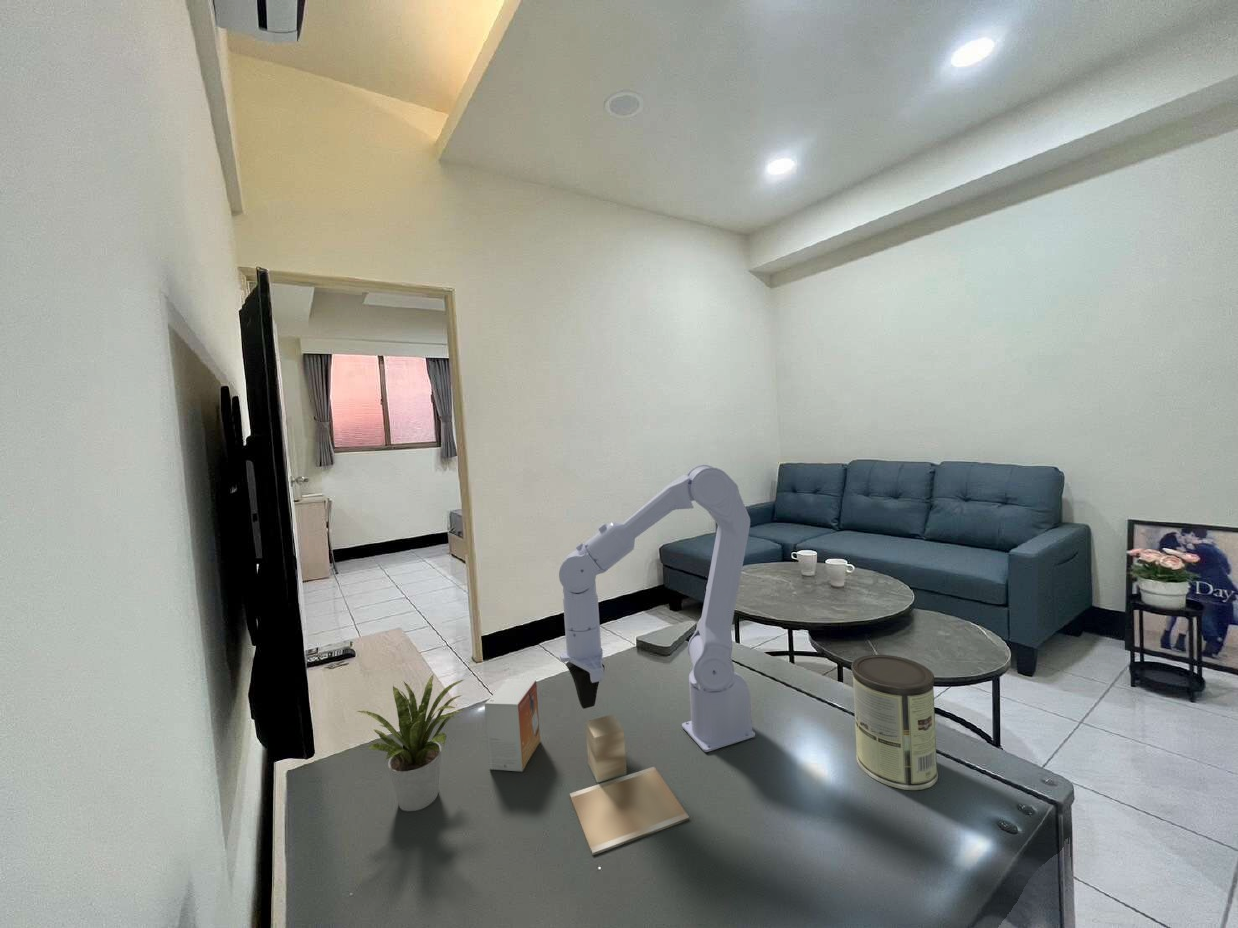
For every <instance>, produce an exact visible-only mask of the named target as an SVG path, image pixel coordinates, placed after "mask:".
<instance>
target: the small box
mask: <svg viewBox="0 0 1238 928" xmlns="http://www.w3.org/2000/svg"><path fill="white" fill-rule="evenodd" d="M537 687H538V686H537V680H535V679H517V678H516V679H515V678H513V679H512V678H507V679H505V680H504V681H503V682H502V684H501V685H500V686H499V687H498V689H496V691H495V692H494V693H493V694H492V695H491V696H490V697H489V699H487V701H485V702H484V713H485V717H484V718H485V727H486V740H487V755H488V767H489V770H495V771H509V772H511V771H512V772H523V771H524V769H525V768H526V766H527V764H528V763H529V761H530V759H531V758H532V756H533V754H534V752H535V751H536V749H537V747H538V746H539V744H540V743H541V734H540V733H541V731H540V718H539V705H538V704H539V703H538V702H539V699H538V688H537Z"/></svg>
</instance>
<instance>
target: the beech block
mask: <svg viewBox="0 0 1238 928" xmlns="http://www.w3.org/2000/svg"><path fill="white" fill-rule="evenodd" d="M585 733H586V734H585V735H586V748H587V750H586V751H587V761H588V764H587V765H588V768H589V771H590V773H591V775H592V777H593V778H594V781H595V783H596V785H598V784H601V783H604V782H607V781H610V780H614V779H617V778H620V777H623V776H626V775H628V774H627V757H626V743H625V742H626V741H625V730H624V728H623V726H622V724H621V723H620V722H619V720H618V718H617V717H616V716H615V714H609V715H606V716H602V717H598V718H594V719H591V720H588V721H585Z"/></svg>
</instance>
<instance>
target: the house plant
mask: <svg viewBox="0 0 1238 928" xmlns="http://www.w3.org/2000/svg"><path fill="white" fill-rule="evenodd" d="M433 680H434V674H432V675H431V676H430V677H429V679H428V681H427V682H426V685H425V688H424V692H423V696H422V698H421V702H420V705H418V704H417V699H416V696H415V692H414V691H413V690H412V688H411V687H410V685H409V684H408V683H406V682H405V681H403V683H404V686H405V689H406V691H407V693H408V696H409V697H408V696H406V694H405V693H404V692H403V691H402V690H400V689H398V688H397V687H395V686H394V684H393V686H392V693H393V699H394V703H395V706H396V713H397V718H398V728H399V732H398V731H397V730H396V729H395V727H394V726H393V725H392V724H391V723H390V722H389V721H388V720H387V719H385V718H384V717H383V716H381V715H379V714H377V713H375V712H371V711H368V710H367V711H366V710H356V712H357V713H361V714H365V715H367V716H370V717H372V718H374V719H375V721H377V722H379V723H380V724H379V726H380V727H382V728H386V729H387V730H388V731H389V732H390V734H392V735H393V736H394V737H395V738H396V740H398V741H399V742H400V744H399V743H398V742H397V741H395V740H394V739H393V738H392V737H390V736H388V735H387V734H385V733H384V732H382V731H380V730H377V729H373V730H374V732H375V733H376V734H377V735H378V736H379V738H380V739H381V740H382V741H383V742H378V743H374V744H372V745H370V746H368V748H366V750H368V749H369V750H374V751H380V752H386V753H387V754H386V759H385V760H384V762H387V760H388V763H387V766H388V769H389V770H388V771H389V773H390V777H391V781H392V785H393V788H394V791H395V796H396V799H397V802H398V805H399V808H400V810H402V811H404V812H414V811H420V810H422V809H425V808H427V807H428V806H429V805H431V804H433V802H434V801H435V800H436V799H437V797H438V794H439V786H440V785H439V783H440V771H441V760H442V753H443V752H442V750H443V749H442V746H441V744H442V745H443V746H445V743H446V739H447V734H446V733H443V732H442V733H441V731H442V729H443V728H444V727H445V725H446V724H447V723H448V721H449V720H450V719H451V718H454V719H455V717H454V715H455V714H457V713H458V712H459V713H460V712H461V711H462V710H463V708H461V709H458V710H455V711H453V712H451V713H450V714H442V713H443V712H444V710H445V709H455V708H456V707H455V706H452V705H449V704H451V703H452V701H454V700H456V699H458V698H460V697H461V696H462V695H456V696H454V697H452V698H450V699H449V700H447V701H446V702H445V703H444V704H443V705H442V706H440V707H439V708H438V709H437V710H436V708H437V707H438V705H439V704H440V702H441V700H442V699H443V698H444V697H445V696H446V695H447V694H448V693H449V691H451V689H452V688H453V687H454V686H456V685H457V684H460V683H462V682H463V681H465V680H466V679H461V680H458V681H455V682H453V683H451V684H450V685H448V686H447V687H446V688H444V689H443V690H442V691H441V692H440V693H439V695H437V697H436V699H435V700H434V702H433V704H432V706H431V708H430V710H429V709H428V708H429V704H430V699H431V696H432V691H433V686H434V685H433ZM428 710H429V712H428ZM435 710H436V711H435ZM427 712H428V715H427ZM437 712H438V714H437V715H436V713H437ZM435 715H436V718H435V719H434V720H433V718H434V716H435ZM432 720H433V721H432ZM441 721H442V722H441ZM440 722H441V723H440ZM439 723H440V725H439V727H438V728H437V730H436V732H435V733H434V735H433V736H432V738H431V740H429V739H430V736H431V735H432V733H433V731H434V728H436V726H437V725H438V724H439ZM440 743H441V744H440ZM401 744H402V745H401Z"/></svg>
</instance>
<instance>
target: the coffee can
mask: <svg viewBox="0 0 1238 928" xmlns="http://www.w3.org/2000/svg"><path fill="white" fill-rule="evenodd" d="M850 665H851V666H850V668H851V673H852V685H853V686H852V687H853V703H854V704H853V705H854V725H855V740H856V741H855V745H856V753H855V754H856V761H857V764H858V765H859V767H860V769H861V770H862V771H863V772H864V773H865V774H866V775H868V776H869V777H870V778H872V779H874V780H876V781H877V782H880V783H881V784H883V785H886V786H888V787H891V788H892V787H893V788H896V789H901V790H907V791H921V790H922V791H923V790H925V789H929V788H931V787H933V785H935V784H936V783H937V781H938V778H939V776H938V775H939V774H938V773H939V772H938V762H937V760H938V759H937V741H936V740H937V739H936V721H935V720H936V711H935V692H934V691H935V690H934V684H935V675H934V674H933V673H934V672H932V671H931V670H930V669H929V668H928V667H926V666H925V665H923V664H922V663H919V662H917V661H915V660H914V661H913V660H911V659H908V658H904V657H901V656H897V655H896V656H895V655H891V654H890V655H889V654H888V655H887V654H868V655H863V656H860V657H857V658H855V659H854V660H853V661H852V663H851V664H850Z"/></svg>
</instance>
